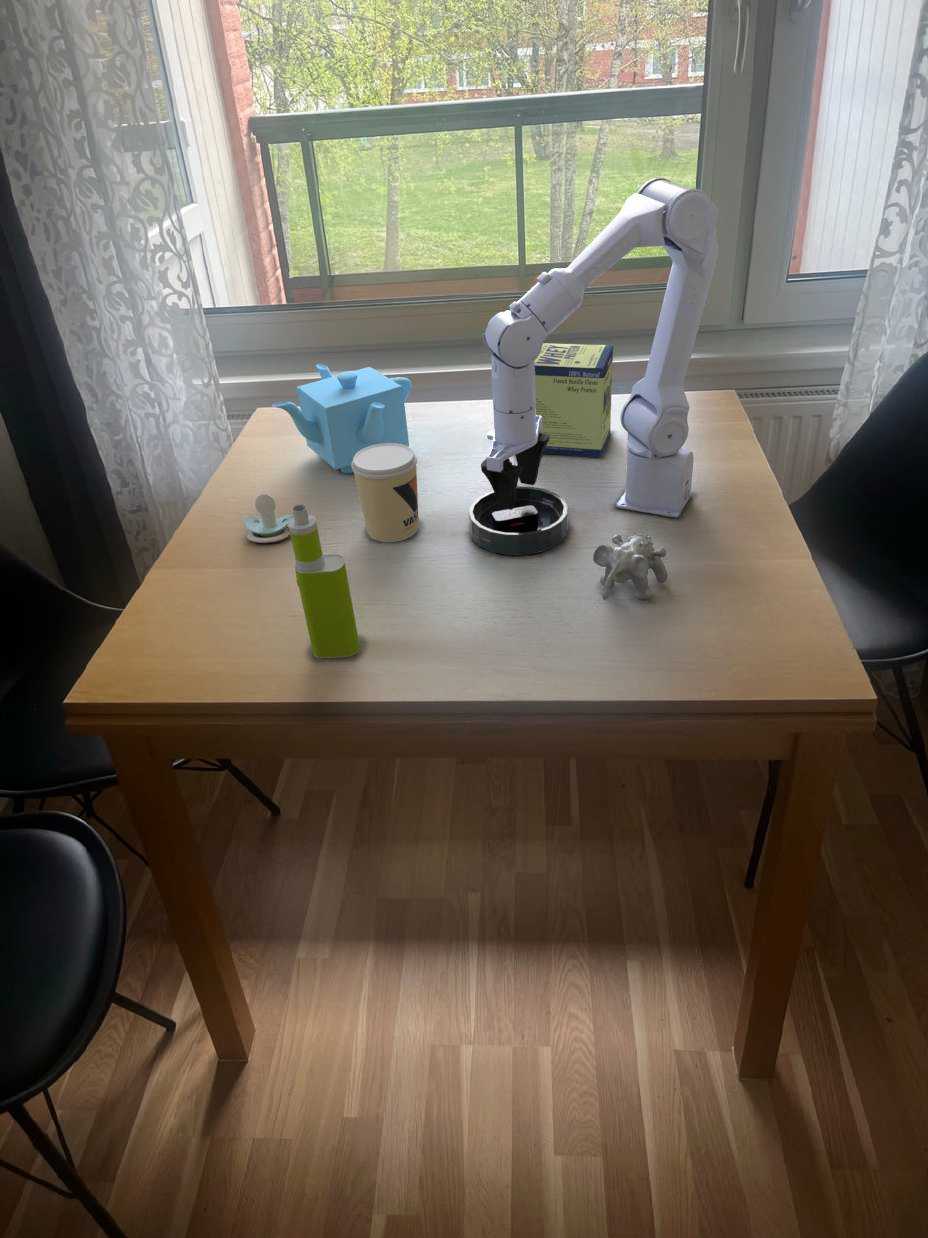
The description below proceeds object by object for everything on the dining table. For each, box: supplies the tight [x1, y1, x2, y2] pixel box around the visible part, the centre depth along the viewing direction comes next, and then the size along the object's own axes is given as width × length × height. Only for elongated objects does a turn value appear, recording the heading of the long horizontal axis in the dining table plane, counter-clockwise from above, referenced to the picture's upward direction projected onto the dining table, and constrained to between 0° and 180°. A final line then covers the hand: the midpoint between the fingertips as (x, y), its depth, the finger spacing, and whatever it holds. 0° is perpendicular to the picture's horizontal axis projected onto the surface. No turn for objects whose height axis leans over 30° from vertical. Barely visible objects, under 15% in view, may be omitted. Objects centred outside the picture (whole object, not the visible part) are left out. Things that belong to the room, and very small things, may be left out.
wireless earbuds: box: [492, 505, 538, 533], centre depth 131 cm, size 5×7×3 cm, turn 104°
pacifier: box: [243, 493, 294, 544], centre depth 134 cm, size 7×6×6 cm
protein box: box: [535, 342, 614, 459], centre depth 150 cm, size 10×16×16 cm
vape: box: [287, 504, 360, 659], centre depth 106 cm, size 4×6×20 cm, turn 90°
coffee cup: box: [352, 443, 419, 543], centre depth 131 cm, size 9×9×12 cm
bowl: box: [468, 485, 569, 556], centre depth 131 cm, size 14×14×4 cm
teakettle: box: [271, 363, 413, 474], centre depth 151 cm, size 19×19×15 cm
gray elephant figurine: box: [592, 532, 669, 601], centre depth 114 cm, size 9×12×8 cm
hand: (517, 495), depth 128 cm, fingers open, 7 cm apart
